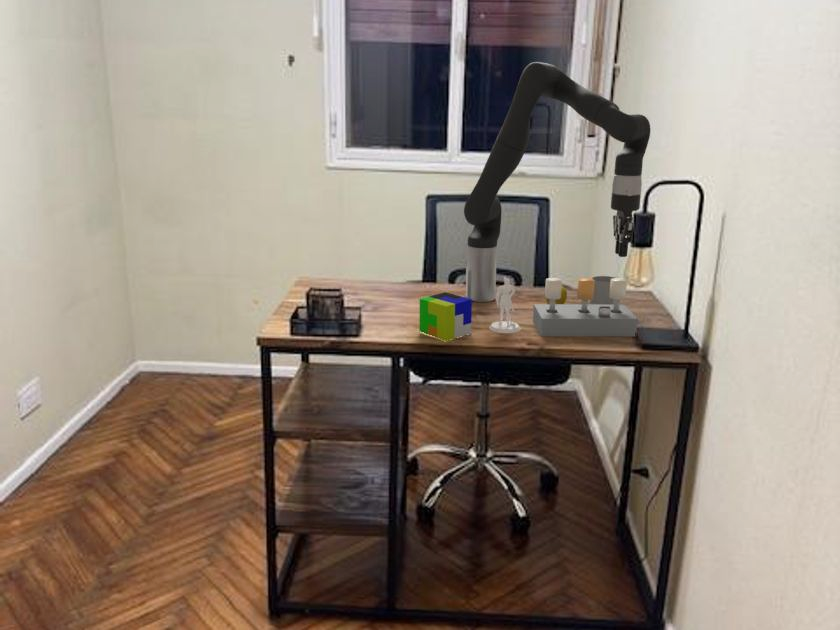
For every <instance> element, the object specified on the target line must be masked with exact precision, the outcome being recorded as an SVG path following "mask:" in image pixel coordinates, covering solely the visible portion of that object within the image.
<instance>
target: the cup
mask: <svg viewBox="0 0 840 630" xmlns="http://www.w3.org/2000/svg"><path fill="white" fill-rule="evenodd" d="M612 278H616V277H613V276H609V275H598V276H597V275H596V276H593V277H592V278H591V279H594V280H595V281H594V294H593V299H589V304H614V299H611V298H610V297H609V294H610V281H611V279H612Z"/></svg>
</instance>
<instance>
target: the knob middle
mask: <svg viewBox="0 0 840 630" xmlns="http://www.w3.org/2000/svg"><path fill="white" fill-rule="evenodd" d="M594 281H595V280H594V279H592V278H590V277H589V278H588V277H582V278H581V277H580V278H578V280H577V294H576V298H578V299H580V300H581V304H582V307H581V312H587V305H588V304H589V302H588V301H589V300H590V299H593V294H594Z"/></svg>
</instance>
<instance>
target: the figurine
mask: <svg viewBox="0 0 840 630" xmlns="http://www.w3.org/2000/svg"><path fill="white" fill-rule="evenodd" d="M502 280H503V282H504V283H503V285H500V286H499V285H498V287H497V289H496V292H495V301H496V306H497V307H499V309H500V311H499V321H494V322H492V323H491V324H490V325H489V327H488V328H489V330H490V331H491V332H494V333H499V334H514V333H517V332H520V331H521V327H520V325H519V324H518V323H516V322H515V321H513V320H512V318H511V315H510V310H512V312H515V310H514V306H513V302H512V296H514V295H515V293H516V287H515V285H512V284H511V282H510V281H511V280H510V279H509V278H507V277H506V276H504V277H503V278H502ZM504 311H505V319H506V320H503V319H504Z"/></svg>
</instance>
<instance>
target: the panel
mask: <svg viewBox="0 0 840 630" xmlns="http://www.w3.org/2000/svg"><path fill="white" fill-rule="evenodd" d="M549 305H550V304H546V303H545V304H541V303H540V304H539V303H537V304H535V303H533V312H532V322H533V323H534V327H536V329H537V331H538V333H539V336H541V337H636V336H635V333H636V334H637V332H638V331H637V329H638V318H637V317H636V315H634V313H633V312H631V310H630V309H628V308H627V307H626V305H625V304H620V307H619V312H613V308H614V304H590V303H588V305H587V312H581V307H582V303H581V304H577V303H576V304H572V303H571V304H566V303H564V304H555V312H549ZM600 306H609V307H610V308H611V312H610V317H609V318H602V317H599V316H598V311H599V307H600Z"/></svg>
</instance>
